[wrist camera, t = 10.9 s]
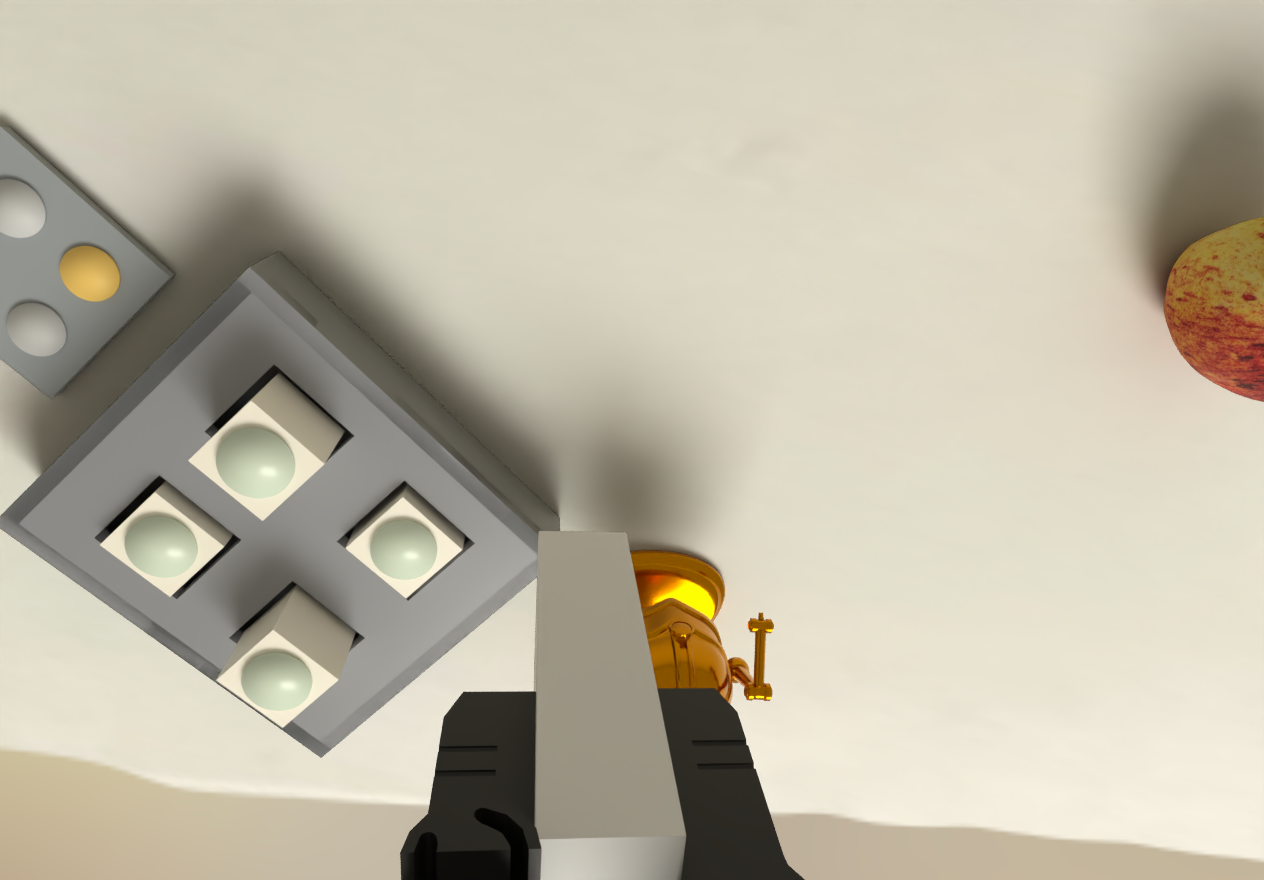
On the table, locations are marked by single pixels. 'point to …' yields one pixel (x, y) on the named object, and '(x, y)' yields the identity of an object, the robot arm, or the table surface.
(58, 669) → the table surface
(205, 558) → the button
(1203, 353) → the apple
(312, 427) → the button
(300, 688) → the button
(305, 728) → the button box
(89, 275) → the card
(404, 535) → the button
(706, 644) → the figurine
